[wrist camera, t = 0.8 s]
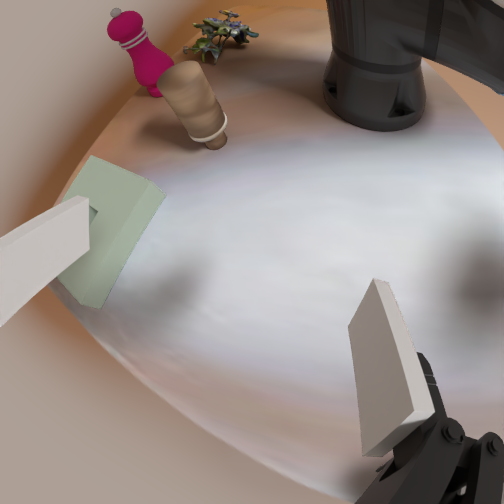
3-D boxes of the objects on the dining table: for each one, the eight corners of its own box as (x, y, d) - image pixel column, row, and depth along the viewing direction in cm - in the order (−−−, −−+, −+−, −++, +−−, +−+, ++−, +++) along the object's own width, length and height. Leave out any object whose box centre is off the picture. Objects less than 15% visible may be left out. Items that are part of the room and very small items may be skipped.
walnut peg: (212, 124, 40) (175, 59, 28) (242, 132, 38) (210, 61, 26) (192, 151, 40) (147, 89, 28) (221, 161, 38) (179, 93, 26)
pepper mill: (142, 101, 47) (85, 28, 29) (158, 76, 49) (109, 5, 31) (173, 97, 45) (117, 13, 27) (188, 71, 47) (141, -8, 28)
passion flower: (247, 63, 51) (270, 23, 40) (216, 88, 48) (238, 44, 37) (205, 37, 49) (221, -4, 38) (171, 59, 45) (183, 13, 34)
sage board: (105, 166, 44) (91, 154, 40) (166, 195, 38) (151, 180, 35) (52, 257, 41) (35, 250, 38) (100, 309, 36) (80, 304, 32)
